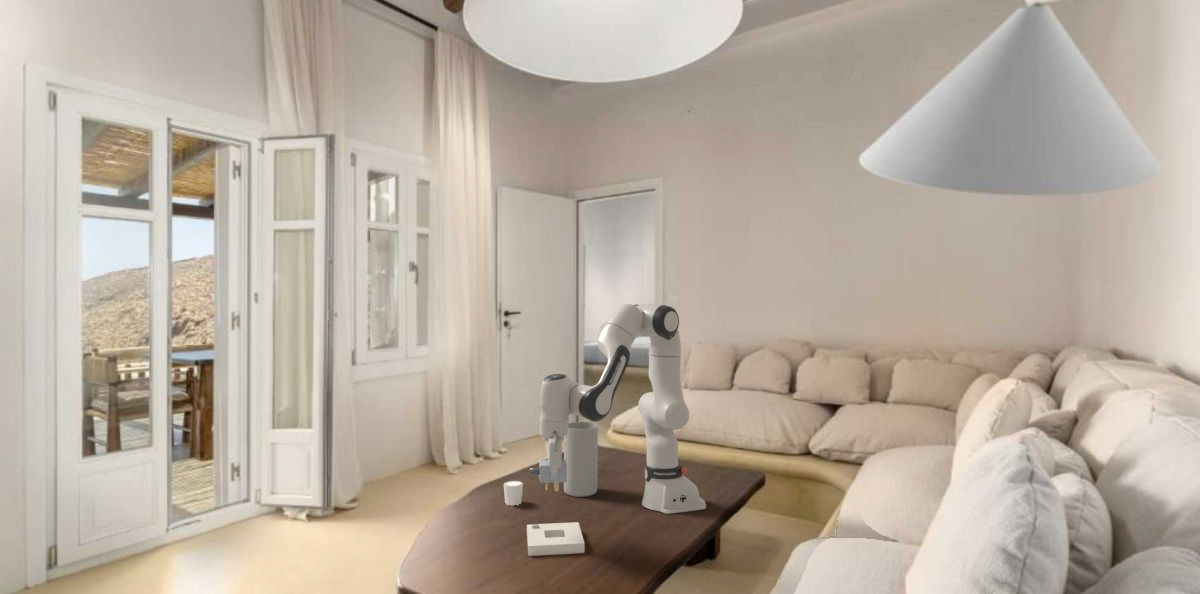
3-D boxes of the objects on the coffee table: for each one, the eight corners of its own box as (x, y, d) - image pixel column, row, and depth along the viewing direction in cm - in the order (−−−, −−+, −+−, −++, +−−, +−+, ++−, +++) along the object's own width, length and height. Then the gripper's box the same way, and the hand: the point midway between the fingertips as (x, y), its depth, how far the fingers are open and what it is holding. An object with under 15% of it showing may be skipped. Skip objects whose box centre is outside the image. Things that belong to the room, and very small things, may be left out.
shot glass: (519, 507, 210) (519, 487, 210) (500, 505, 211) (500, 485, 211) (525, 500, 217) (525, 481, 217) (507, 499, 218) (507, 479, 218)
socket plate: (578, 531, 189) (578, 519, 189) (584, 552, 174) (584, 540, 173) (526, 533, 187) (526, 522, 187) (528, 555, 171) (528, 543, 171)
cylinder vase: (598, 487, 232) (599, 422, 232) (595, 498, 220) (595, 429, 220) (566, 486, 234) (567, 421, 233) (561, 496, 221) (561, 428, 221)
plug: (564, 485, 187) (565, 460, 187) (566, 492, 181) (566, 465, 181) (529, 486, 185) (529, 460, 185) (529, 493, 179) (529, 466, 179)
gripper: (567, 436, 173) (566, 484, 173) (562, 421, 193) (561, 464, 193) (545, 436, 172) (544, 485, 172) (542, 421, 193) (541, 465, 193)
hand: (553, 474), depth 183 cm, fingers closed on plug, 6 cm apart
